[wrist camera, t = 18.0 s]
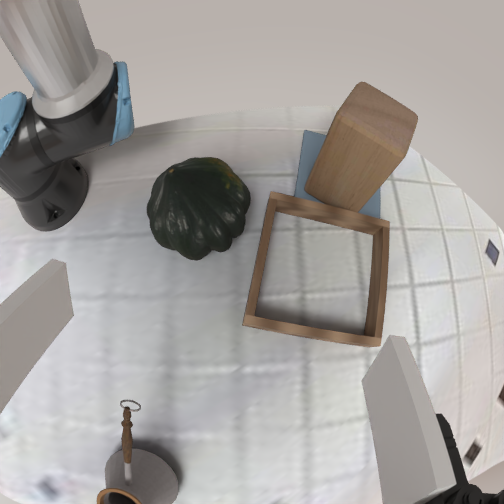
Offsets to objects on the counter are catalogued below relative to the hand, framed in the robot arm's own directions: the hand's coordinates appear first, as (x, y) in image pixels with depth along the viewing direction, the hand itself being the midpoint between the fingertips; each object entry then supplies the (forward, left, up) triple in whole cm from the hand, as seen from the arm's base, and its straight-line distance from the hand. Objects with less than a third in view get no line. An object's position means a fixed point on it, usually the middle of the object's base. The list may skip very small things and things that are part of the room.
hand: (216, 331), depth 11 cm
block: (+13, +30, -33) cm, 47 cm away
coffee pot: (-8, -19, -34) cm, 40 cm away
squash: (-8, +18, -34) cm, 39 cm away
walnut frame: (+12, +14, -34) cm, 38 cm away
